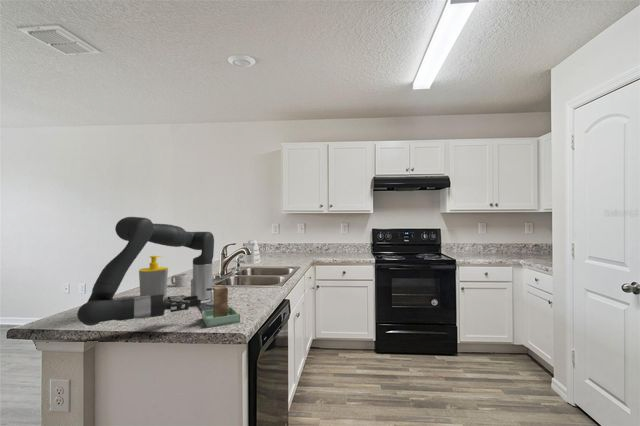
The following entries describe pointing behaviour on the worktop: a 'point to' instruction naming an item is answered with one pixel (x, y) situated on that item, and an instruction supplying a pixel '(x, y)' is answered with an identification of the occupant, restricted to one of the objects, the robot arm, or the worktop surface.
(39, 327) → the worktop surface
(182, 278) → the mug
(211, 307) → the crank bed
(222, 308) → the brown wooden block
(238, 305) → the worktop surface
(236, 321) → the tray
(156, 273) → the soap bottle
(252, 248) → the grater
